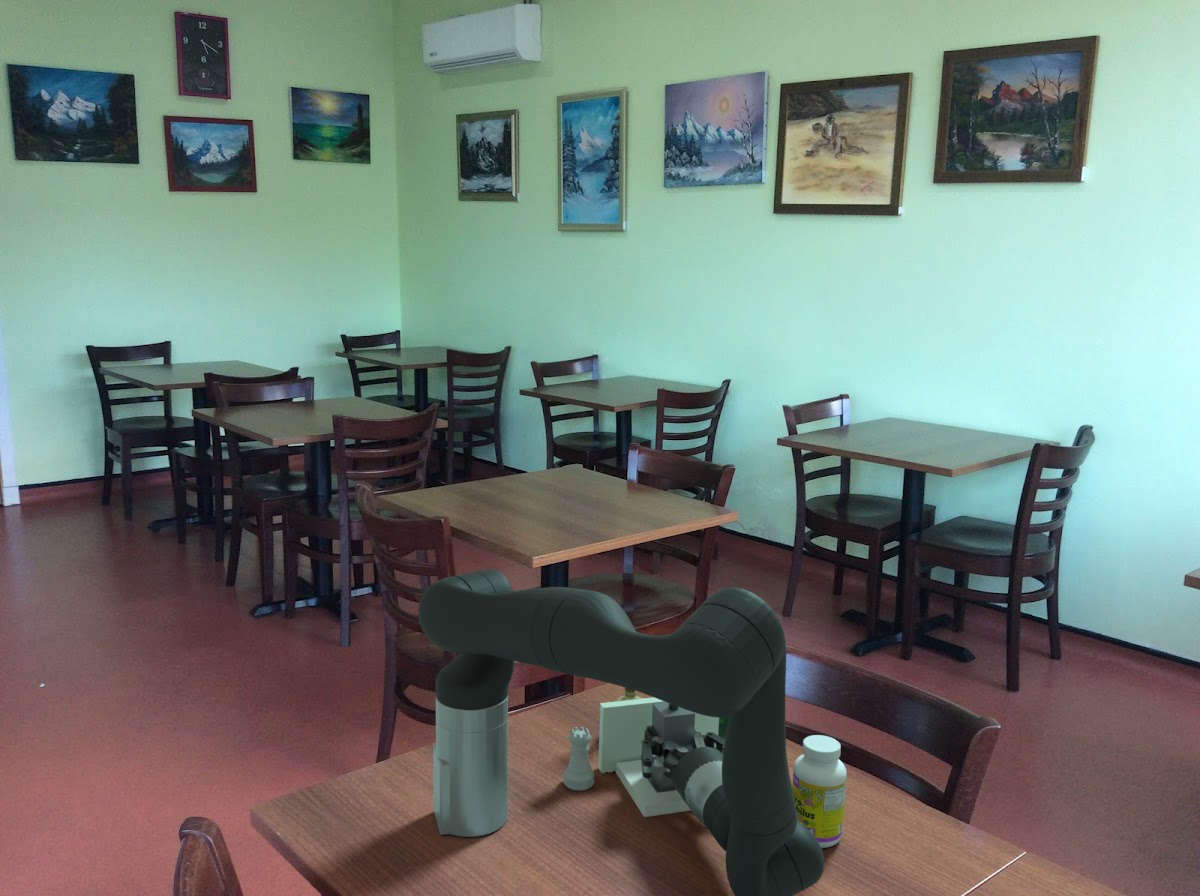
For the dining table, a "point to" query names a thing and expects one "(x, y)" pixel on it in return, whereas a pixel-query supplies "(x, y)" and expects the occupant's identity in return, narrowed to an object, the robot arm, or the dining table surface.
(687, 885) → the dining table surface
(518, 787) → the dining table surface
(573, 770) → the rook chess piece
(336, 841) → the dining table surface
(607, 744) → the socket
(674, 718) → the plug
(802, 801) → the supplement bottle
